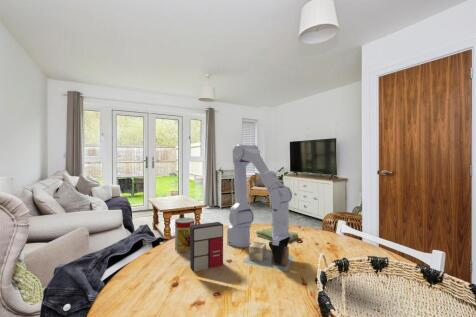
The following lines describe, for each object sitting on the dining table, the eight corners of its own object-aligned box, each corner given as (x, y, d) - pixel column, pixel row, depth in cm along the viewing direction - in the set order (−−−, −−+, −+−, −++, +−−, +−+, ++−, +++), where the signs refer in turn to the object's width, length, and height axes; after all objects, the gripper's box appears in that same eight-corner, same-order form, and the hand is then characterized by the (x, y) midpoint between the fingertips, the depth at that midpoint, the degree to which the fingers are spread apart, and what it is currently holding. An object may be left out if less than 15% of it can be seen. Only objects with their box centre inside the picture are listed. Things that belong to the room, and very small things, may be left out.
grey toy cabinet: (193, 274, 76) (193, 228, 76) (189, 269, 80) (189, 225, 80) (224, 267, 81) (224, 224, 81) (219, 262, 85) (219, 221, 85)
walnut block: (271, 263, 82) (271, 249, 82) (275, 258, 87) (275, 244, 87) (285, 266, 80) (285, 251, 80) (288, 260, 85) (288, 246, 85)
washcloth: (271, 231, 124) (271, 225, 124) (299, 239, 111) (299, 232, 111) (254, 236, 115) (254, 229, 116) (283, 246, 102) (283, 238, 102)
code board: (242, 264, 83) (242, 262, 83) (254, 251, 95) (254, 249, 95) (286, 273, 77) (287, 270, 77) (293, 258, 89) (293, 255, 89)
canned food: (196, 250, 97) (196, 221, 97) (177, 253, 93) (177, 223, 93) (191, 243, 104) (191, 216, 104) (173, 246, 100) (173, 218, 100)
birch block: (248, 259, 85) (249, 246, 85) (253, 254, 90) (253, 241, 90) (262, 262, 83) (262, 248, 83) (266, 256, 88) (266, 243, 88)
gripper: (287, 227, 75) (287, 269, 75) (295, 217, 89) (295, 253, 88) (266, 225, 78) (266, 265, 78) (276, 215, 91) (276, 250, 91)
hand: (280, 258), depth 83 cm, fingers open, 7 cm apart
